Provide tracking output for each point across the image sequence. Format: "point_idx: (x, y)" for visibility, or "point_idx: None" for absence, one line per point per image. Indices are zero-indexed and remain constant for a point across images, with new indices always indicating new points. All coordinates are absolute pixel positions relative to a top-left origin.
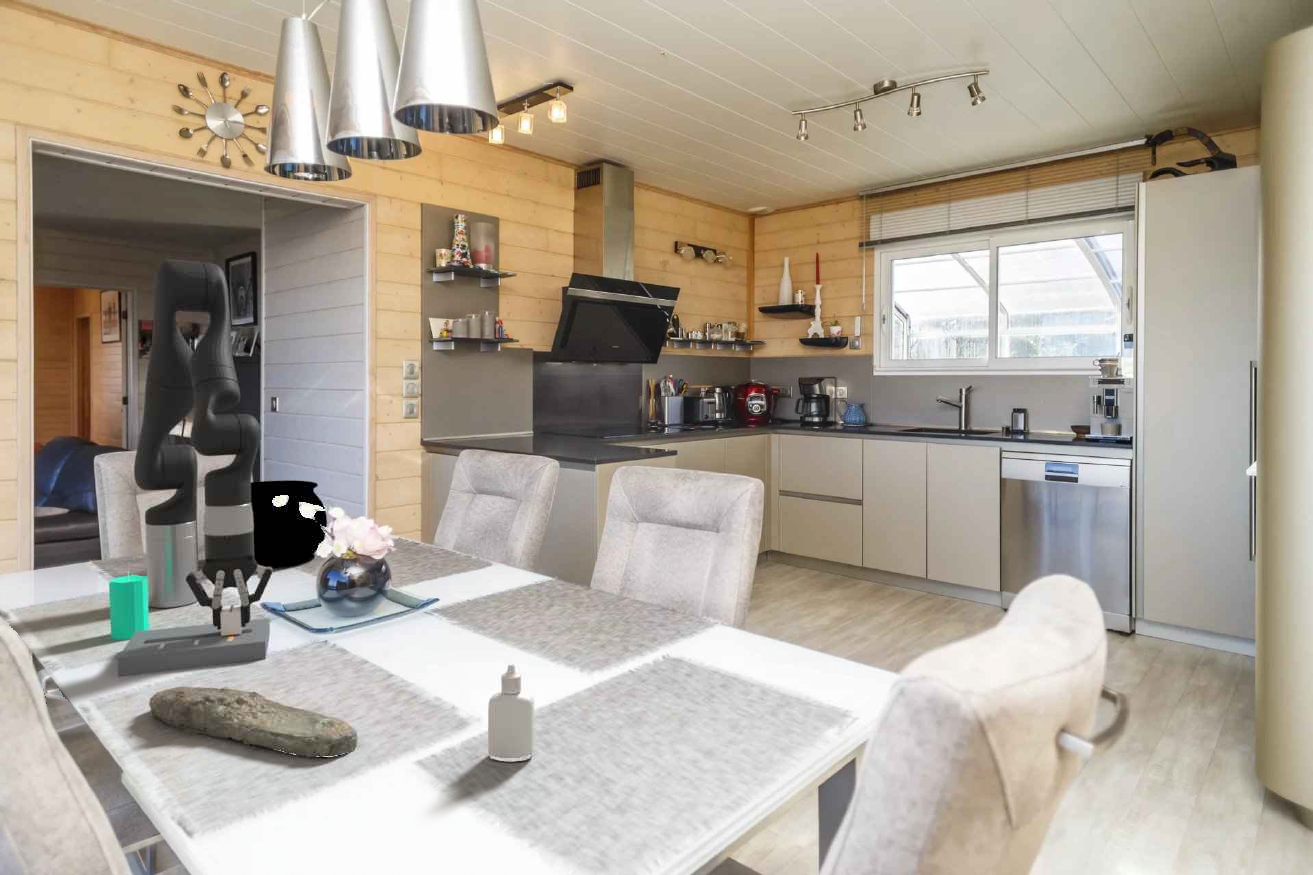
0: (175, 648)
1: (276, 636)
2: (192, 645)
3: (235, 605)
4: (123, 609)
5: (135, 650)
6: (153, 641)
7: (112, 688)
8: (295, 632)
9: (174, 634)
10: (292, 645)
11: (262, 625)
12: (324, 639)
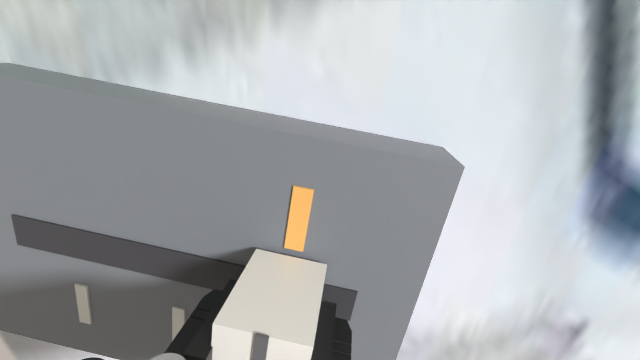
0: (128, 340)
1: (455, 192)
2: (170, 341)
3: (277, 337)
4: None
5: (21, 297)
6: (42, 246)
7: (65, 353)
8: (534, 181)
9: (89, 194)
10: (469, 311)
11: (405, 261)
12: (582, 313)
